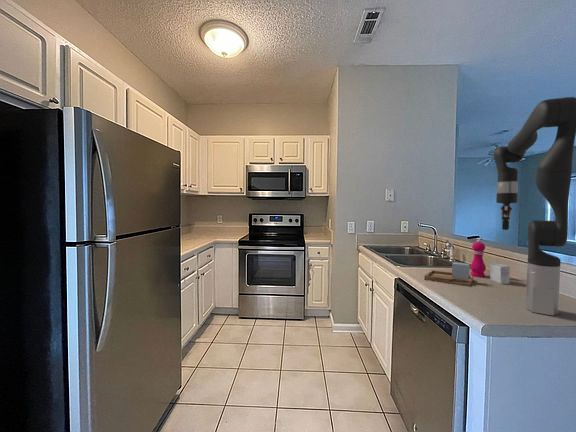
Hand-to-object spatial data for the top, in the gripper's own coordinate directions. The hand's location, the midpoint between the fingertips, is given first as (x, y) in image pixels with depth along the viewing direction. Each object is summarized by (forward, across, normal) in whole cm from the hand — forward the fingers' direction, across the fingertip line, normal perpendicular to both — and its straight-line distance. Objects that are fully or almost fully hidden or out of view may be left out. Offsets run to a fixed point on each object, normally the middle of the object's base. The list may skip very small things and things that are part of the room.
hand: (505, 229), depth 133 cm
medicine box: (+28, +20, +2) cm, 35 cm away
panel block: (+27, +9, +18) cm, 34 cm away
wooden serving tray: (+28, +9, +23) cm, 37 cm away
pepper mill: (+28, +28, +12) cm, 42 cm away
